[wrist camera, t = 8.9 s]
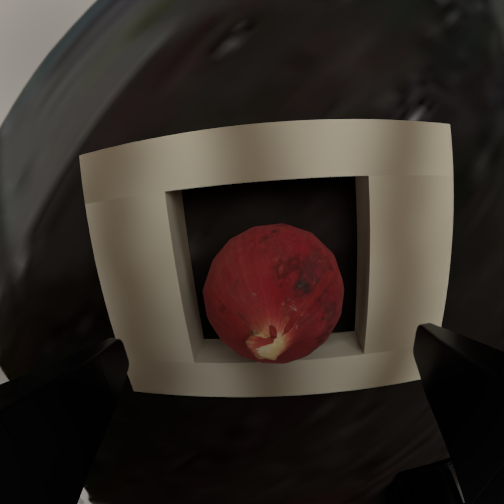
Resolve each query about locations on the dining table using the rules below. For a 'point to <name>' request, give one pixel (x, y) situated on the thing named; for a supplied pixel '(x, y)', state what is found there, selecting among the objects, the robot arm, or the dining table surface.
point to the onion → (274, 293)
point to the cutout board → (267, 169)
